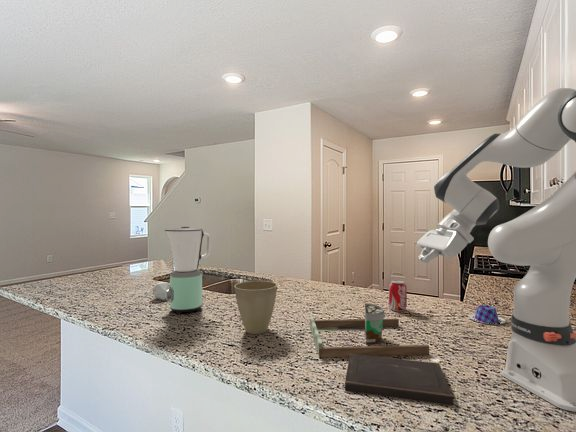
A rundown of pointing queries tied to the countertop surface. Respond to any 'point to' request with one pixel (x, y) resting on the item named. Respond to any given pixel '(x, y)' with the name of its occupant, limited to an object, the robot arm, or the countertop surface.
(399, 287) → the soda can
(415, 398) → the hardcover book
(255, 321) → the plant pot
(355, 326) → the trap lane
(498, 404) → the countertop surface
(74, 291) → the countertop surface
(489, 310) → the blue plaid hat
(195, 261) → the green blender
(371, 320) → the food container
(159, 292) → the grey rock
